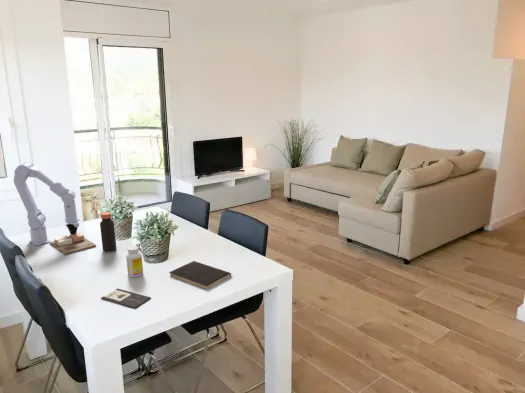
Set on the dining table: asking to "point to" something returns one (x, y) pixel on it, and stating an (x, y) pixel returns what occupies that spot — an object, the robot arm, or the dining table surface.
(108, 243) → the vinegar
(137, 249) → the supplement bottle
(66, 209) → the robot arm
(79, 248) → the board
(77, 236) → the block
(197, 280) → the hardcover book
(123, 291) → the chocolate bar
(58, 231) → the dining table surface
